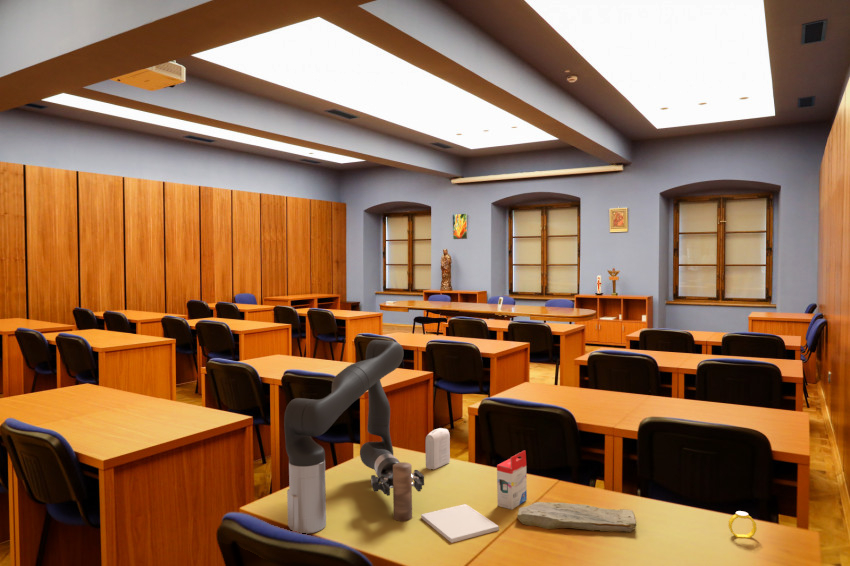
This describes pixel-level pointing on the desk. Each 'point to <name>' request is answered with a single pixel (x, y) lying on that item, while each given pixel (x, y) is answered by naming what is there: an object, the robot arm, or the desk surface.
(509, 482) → the ink box
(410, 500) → the slanted wooden cylinder
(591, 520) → the stone slab
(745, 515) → the gold ring
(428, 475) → the desk surface
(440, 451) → the white rounded slab
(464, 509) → the white mat
